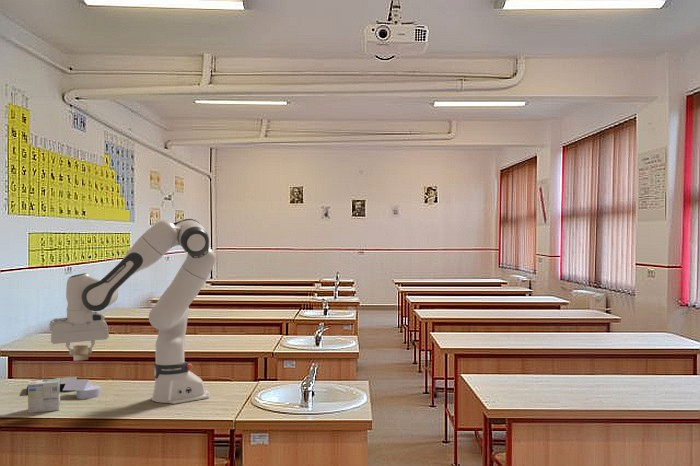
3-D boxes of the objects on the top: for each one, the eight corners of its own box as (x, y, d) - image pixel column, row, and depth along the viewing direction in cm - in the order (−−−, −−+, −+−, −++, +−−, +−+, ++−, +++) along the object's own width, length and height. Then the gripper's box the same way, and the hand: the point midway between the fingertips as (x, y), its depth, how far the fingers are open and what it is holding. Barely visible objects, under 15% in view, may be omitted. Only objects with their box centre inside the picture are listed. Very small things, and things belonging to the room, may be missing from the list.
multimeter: (29, 389, 283) (29, 377, 282) (78, 384, 289) (78, 373, 289) (26, 396, 270) (26, 383, 270) (77, 391, 277) (77, 379, 277)
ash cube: (87, 357, 253) (87, 344, 253) (88, 359, 249) (87, 346, 249) (73, 358, 251) (73, 345, 251) (73, 360, 247) (73, 347, 247)
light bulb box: (60, 406, 253) (60, 377, 253) (59, 410, 247) (59, 381, 247) (29, 409, 249) (29, 380, 249) (27, 413, 243) (27, 384, 243)
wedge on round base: (62, 398, 264) (94, 398, 263) (62, 381, 264) (94, 382, 263) (73, 393, 273) (104, 393, 272) (73, 376, 273) (104, 377, 272)
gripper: (49, 319, 243) (50, 357, 243) (108, 315, 251) (109, 352, 251) (49, 318, 249) (50, 355, 249) (107, 313, 257) (108, 349, 257)
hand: (80, 353), depth 250 cm, fingers closed on ash cube, 5 cm apart
